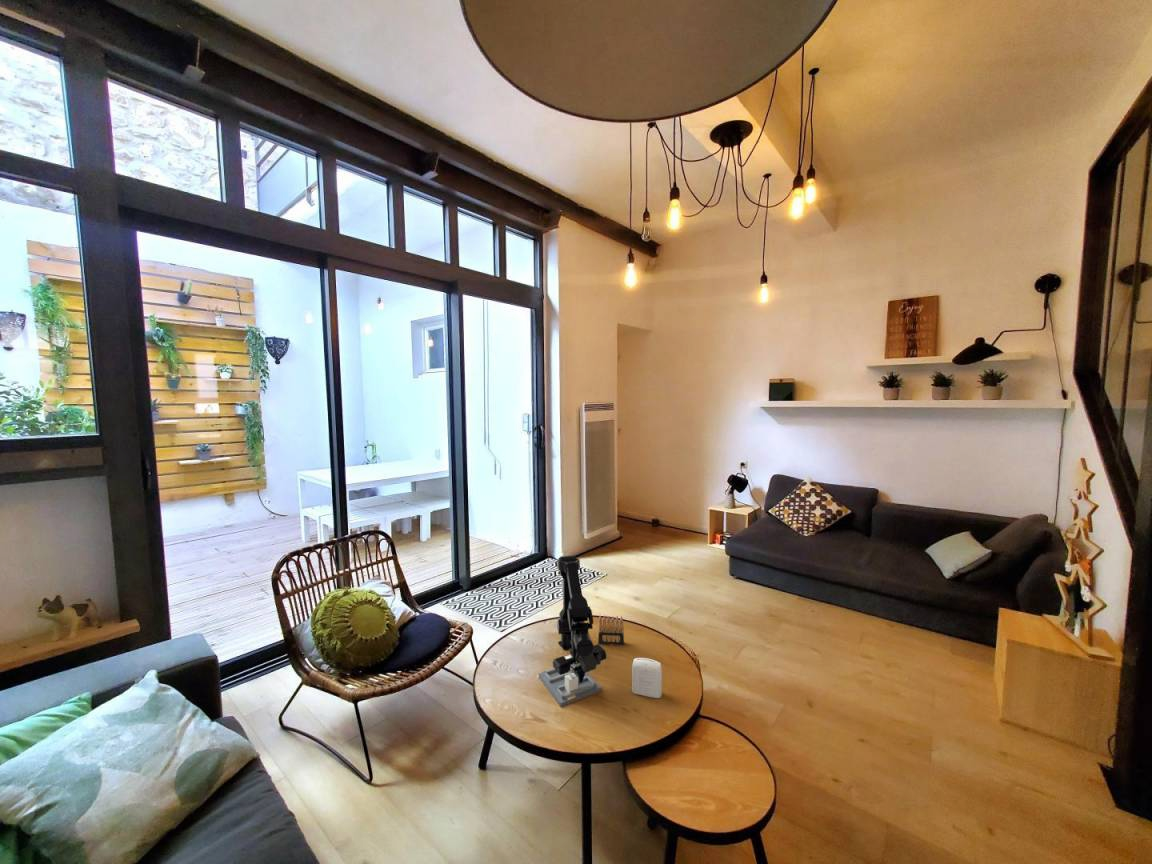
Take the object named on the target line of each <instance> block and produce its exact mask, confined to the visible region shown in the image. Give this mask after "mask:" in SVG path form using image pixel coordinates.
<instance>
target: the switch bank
mask: <svg viewBox="0 0 1152 864" xmlns="http://www.w3.org/2000/svg"><path fill="white" fill-rule="evenodd" d="M569 673H574V674H575V675H576V673H575V671H574V670H573V671H570V672H568V673H565V674H563V675H560V674H559V673H558V672H557V671H556V670H555V668H554V667H553V668H551V669H547V670H544V671H543V672H540V673H538V677H539V679H540V681H541V682H542V683H543V685H544V686H545V688H546V689H547V691H548V692H549V693H550V695H551V696H552V697H553V698H554V700H555V702H556V703H557V704H558V706H559V707H563V706H566V705H568V704H571V703H574V702H576V701H578V700H581V699H584V698H586V697H589V696H592V695H594V694H596V693H599V692H601V691H602V686H601V685H600V684H599V683H598V682H597V681H596V679H594V678H593V676H592V675H590V673H589V672H586V673H585V675H584V678H583V681H582V682H581V683H580V682H579V680H578V689H577V690H575V691H572V692H569V693H568V692H567V691H566V690H565V676H566V675H568V674H569Z"/></svg>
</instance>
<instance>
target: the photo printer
mask: <svg viewBox="0 0 1152 864" xmlns="http://www.w3.org/2000/svg"><path fill="white" fill-rule="evenodd" d="M632 661H633V662H632V665H631V671H632V672H631V692H632V693H633V694H635V695H639V696H643V697H648V698H649V697H650V698H653V699H654V698H655V699H661V697H662V695H663V694H662V693H663V686H662V685H663V684H662V682H663V681H662V680H663V668H662V663H661V662H659V661H657V660H654V659H652V658H647V657H635V658H634V659H633V660H632Z"/></svg>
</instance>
